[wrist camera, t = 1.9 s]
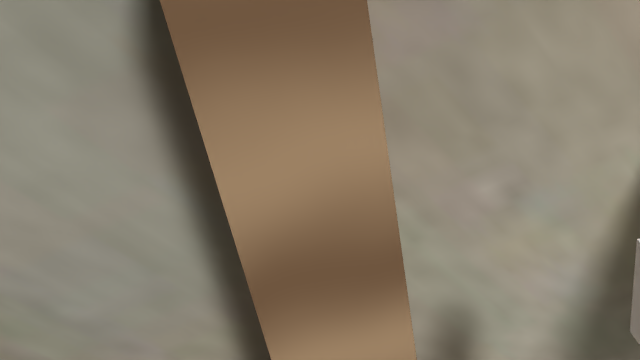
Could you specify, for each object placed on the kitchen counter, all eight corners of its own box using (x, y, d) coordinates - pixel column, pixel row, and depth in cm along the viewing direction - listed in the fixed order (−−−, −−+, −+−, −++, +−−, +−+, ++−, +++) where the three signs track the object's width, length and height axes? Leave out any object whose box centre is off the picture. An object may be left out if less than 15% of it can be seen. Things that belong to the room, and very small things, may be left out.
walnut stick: (151, -151, 14) (112, -151, 10) (314, -185, 14) (339, -200, 10) (308, 406, 24) (319, 514, 20) (404, 386, 24) (434, 490, 20)
